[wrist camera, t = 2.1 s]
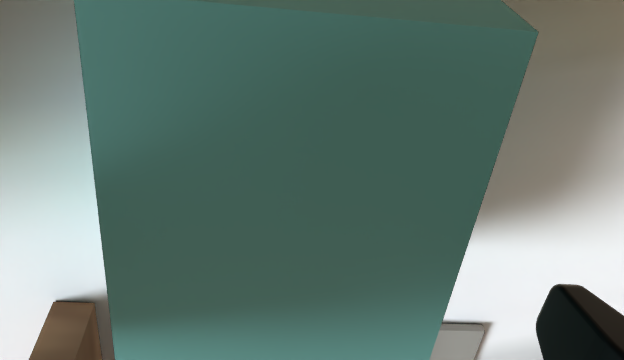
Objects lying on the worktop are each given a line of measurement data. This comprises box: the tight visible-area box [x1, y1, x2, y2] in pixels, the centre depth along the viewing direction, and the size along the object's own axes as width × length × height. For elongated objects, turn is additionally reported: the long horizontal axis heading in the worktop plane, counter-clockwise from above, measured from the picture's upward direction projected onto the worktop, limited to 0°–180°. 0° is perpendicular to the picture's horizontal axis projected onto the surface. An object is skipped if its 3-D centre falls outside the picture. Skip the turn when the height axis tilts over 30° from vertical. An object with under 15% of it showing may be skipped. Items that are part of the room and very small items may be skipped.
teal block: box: [74, 0, 538, 360], centre depth 11 cm, size 5×9×7 cm, turn 174°
